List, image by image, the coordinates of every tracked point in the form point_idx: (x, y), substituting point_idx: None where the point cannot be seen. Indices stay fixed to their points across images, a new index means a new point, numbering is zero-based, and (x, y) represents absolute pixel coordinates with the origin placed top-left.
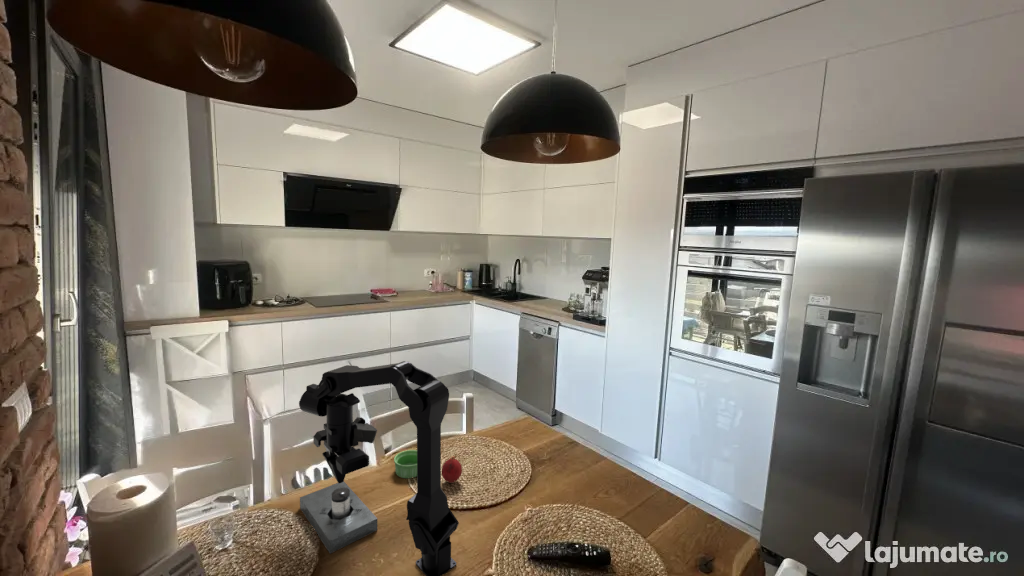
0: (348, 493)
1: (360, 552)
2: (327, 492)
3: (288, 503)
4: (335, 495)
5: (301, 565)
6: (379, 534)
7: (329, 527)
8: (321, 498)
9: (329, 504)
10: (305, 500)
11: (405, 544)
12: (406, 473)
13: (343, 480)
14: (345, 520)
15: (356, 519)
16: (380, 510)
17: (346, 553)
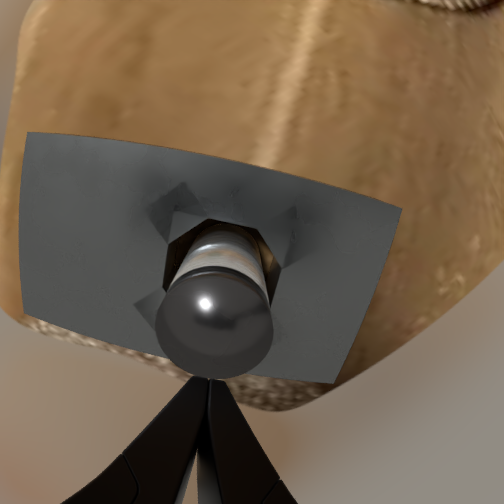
0: (268, 312)
1: (397, 299)
2: (49, 230)
3: (10, 297)
4: (215, 366)
5: (288, 408)
6: None
7: (272, 355)
8: (70, 272)
9: (130, 276)
10: (48, 313)
11: (478, 198)
12: None
13: (227, 390)
14: (293, 300)
15: (330, 267)
16: (295, 105)
17: (364, 326)
